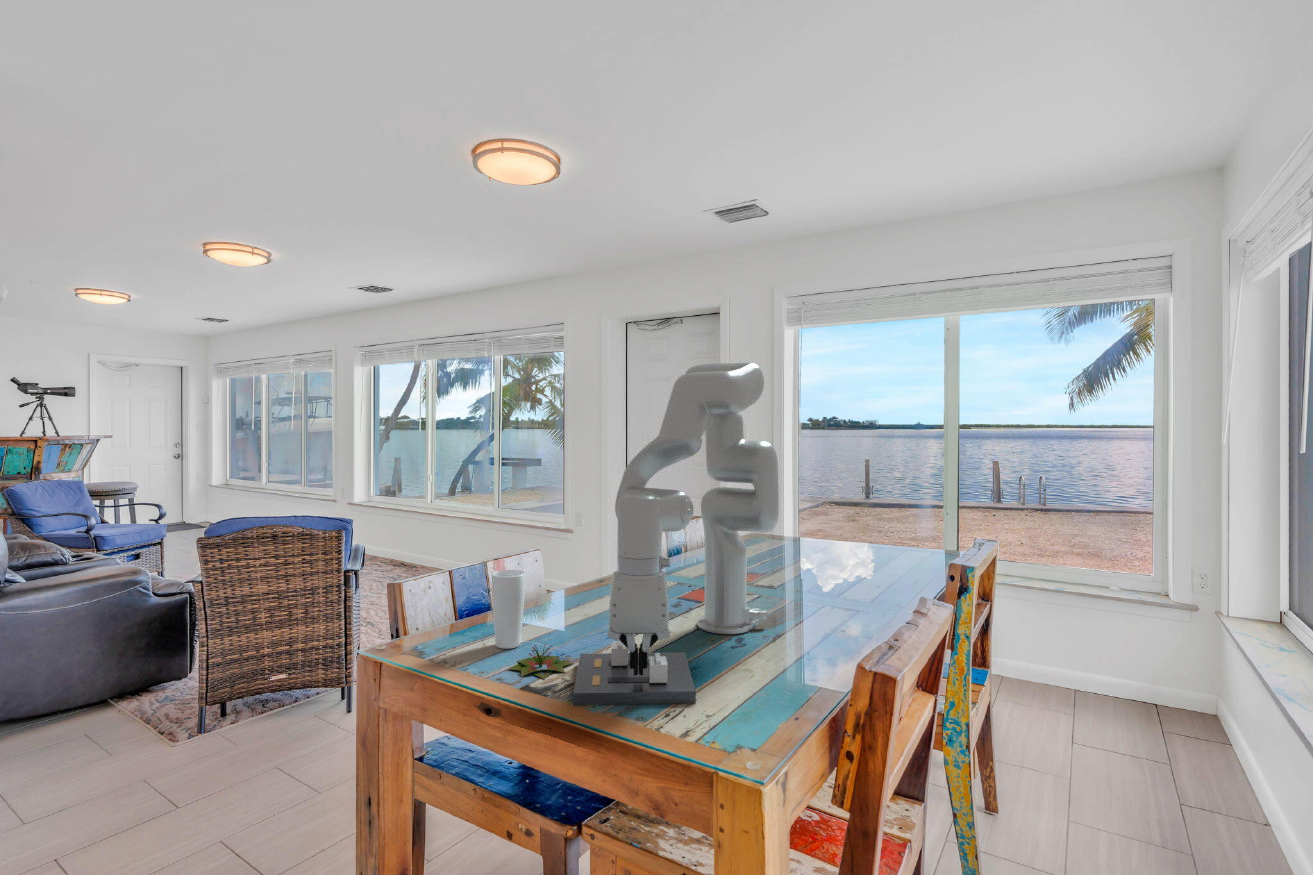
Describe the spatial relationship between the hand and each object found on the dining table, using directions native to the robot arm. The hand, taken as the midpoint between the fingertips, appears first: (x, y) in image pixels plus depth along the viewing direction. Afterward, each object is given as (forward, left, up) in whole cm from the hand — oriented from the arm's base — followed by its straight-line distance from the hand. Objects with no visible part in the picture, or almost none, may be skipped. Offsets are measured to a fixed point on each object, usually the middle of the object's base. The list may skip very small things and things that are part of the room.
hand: (638, 672), depth 109 cm
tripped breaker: (-3, 0, -1) cm, 4 cm away
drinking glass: (+26, -24, -4) cm, 36 cm away
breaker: (+3, -8, -1) cm, 9 cm away
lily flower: (+18, -12, -4) cm, 22 cm away
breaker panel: (+1, -4, -3) cm, 5 cm away
